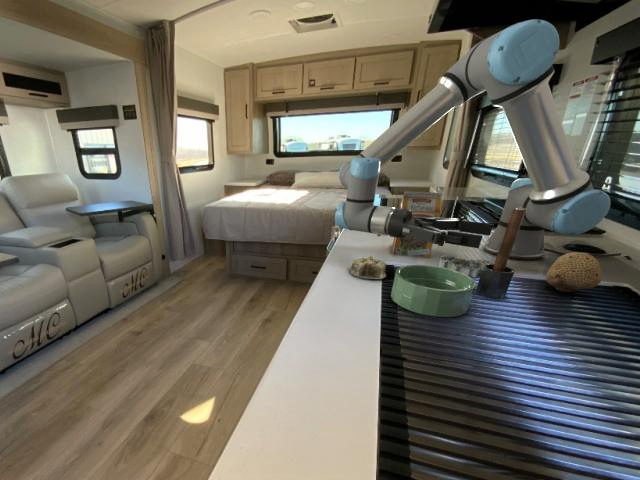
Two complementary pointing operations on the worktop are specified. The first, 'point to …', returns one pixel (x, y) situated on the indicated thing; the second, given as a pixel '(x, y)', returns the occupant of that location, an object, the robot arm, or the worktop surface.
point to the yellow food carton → (420, 206)
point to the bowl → (432, 290)
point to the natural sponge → (574, 272)
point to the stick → (509, 239)
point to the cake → (368, 268)
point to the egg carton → (463, 265)
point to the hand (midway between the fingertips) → (486, 235)
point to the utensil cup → (494, 282)
